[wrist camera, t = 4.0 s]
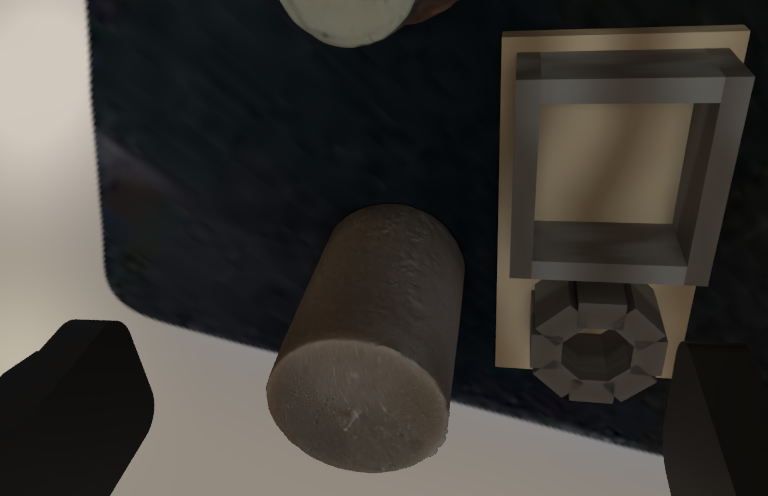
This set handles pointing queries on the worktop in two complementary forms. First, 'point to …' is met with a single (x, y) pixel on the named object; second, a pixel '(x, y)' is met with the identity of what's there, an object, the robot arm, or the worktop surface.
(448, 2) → the sauce bottle
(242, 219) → the worktop surface
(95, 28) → the worktop surface
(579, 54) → the socket board
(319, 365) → the pillar candle
